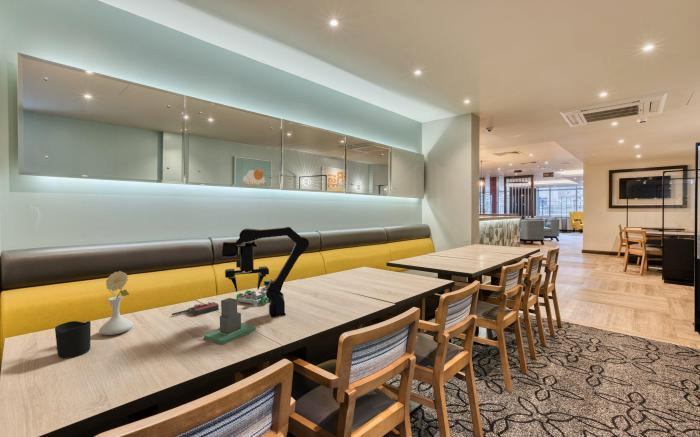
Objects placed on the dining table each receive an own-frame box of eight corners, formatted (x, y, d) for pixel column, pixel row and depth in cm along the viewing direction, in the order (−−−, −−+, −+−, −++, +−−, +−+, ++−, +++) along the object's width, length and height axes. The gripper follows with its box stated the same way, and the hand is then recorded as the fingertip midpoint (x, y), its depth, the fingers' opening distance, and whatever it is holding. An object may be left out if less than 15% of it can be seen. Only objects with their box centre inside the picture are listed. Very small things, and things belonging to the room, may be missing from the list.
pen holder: (87, 344, 121) (86, 317, 121) (94, 352, 115) (93, 324, 115) (53, 353, 114) (52, 325, 113) (59, 362, 108) (58, 332, 107)
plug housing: (233, 326, 135) (233, 296, 134) (241, 329, 132) (240, 298, 132) (220, 332, 129) (219, 300, 128) (227, 334, 127) (226, 302, 126)
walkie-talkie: (212, 306, 167) (170, 317, 151) (212, 297, 166) (170, 307, 151) (221, 309, 161) (179, 321, 146) (221, 301, 161) (178, 311, 146)
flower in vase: (92, 335, 130) (89, 272, 129) (121, 325, 140) (119, 266, 139) (114, 340, 125) (111, 274, 124) (142, 329, 136) (140, 269, 134)
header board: (237, 324, 140) (237, 313, 140) (255, 329, 135) (255, 318, 135) (204, 338, 127) (203, 326, 126) (223, 344, 121) (222, 331, 121)
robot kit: (289, 295, 186) (289, 278, 186) (260, 308, 164) (260, 289, 163) (262, 291, 194) (262, 275, 193) (231, 303, 171) (231, 285, 171)
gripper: (265, 252, 160) (266, 284, 161) (224, 255, 153) (225, 288, 154) (268, 256, 150) (269, 290, 150) (224, 259, 143) (225, 294, 143)
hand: (247, 290), depth 150 cm, fingers open, 9 cm apart
